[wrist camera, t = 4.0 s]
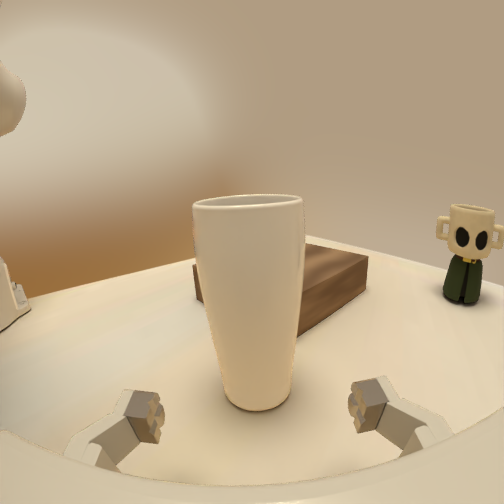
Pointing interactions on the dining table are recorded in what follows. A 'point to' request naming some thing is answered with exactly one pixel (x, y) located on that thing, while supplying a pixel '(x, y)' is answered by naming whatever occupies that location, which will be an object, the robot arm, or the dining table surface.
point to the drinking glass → (252, 290)
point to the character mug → (468, 248)
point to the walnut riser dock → (323, 283)
